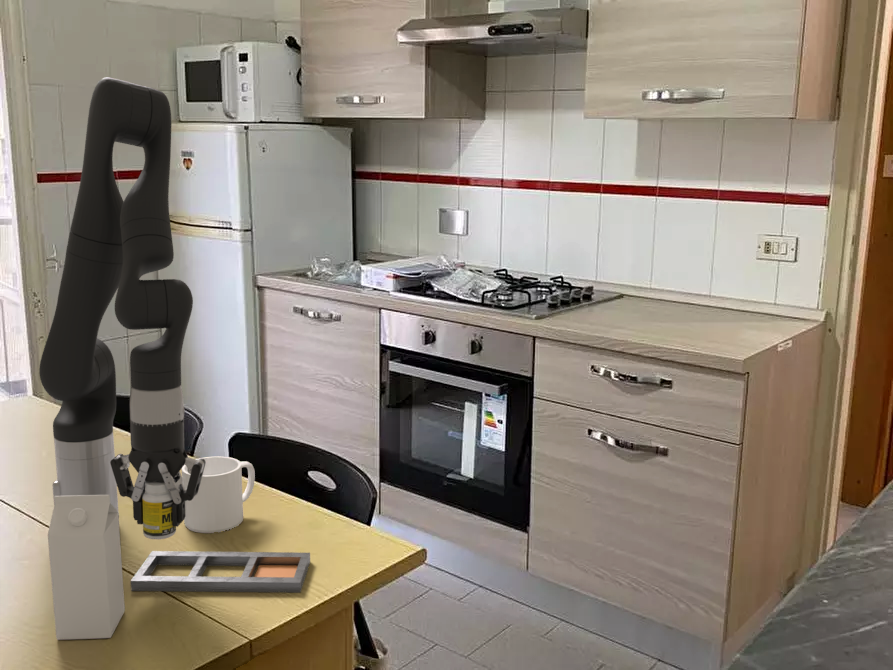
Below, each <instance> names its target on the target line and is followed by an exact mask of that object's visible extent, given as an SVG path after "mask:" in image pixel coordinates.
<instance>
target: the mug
mask: <svg viewBox="0 0 893 670" xmlns="http://www.w3.org/2000/svg"><path fill="white" fill-rule="evenodd" d="M195 459H196V460H199V459H204V460H205V462H206V464H205V467H204V471H203V475H202V479H201V483H200V486H199V490H198V493H197V494H196V495H195V496H194V498H193V499H192V500H191V501H188V500H187V501H185V519H184V520H183V521H184V522H183V523H184V525H185V526H184V527H186V528H187V529H188V530H189V531H192V532H195V533H200V534H215V533H214V532H218V533H222V532H221V531H224V532H226V531H225V530H227V531H230V530H233V529H235V528H237V527H239V524H241V523H242V522H243V521H244V505H243V504H244V502H246V501H247V500H248V499H249V498H250V496H251V494H253V489H254V486H255V481H256V477H255V476H256V475H255V474H256V473H255V468H254V466H253V464H252V463H250V462H249V461H247V460H246V461H240V460H238V459H237V458H233V457H230V456H229V457H228V456H220V455H219V456H207V457H200V458H195ZM242 468H246V469H247V475H248V477H247V484H246V487H245V490H244V492H243V475H242V474H243V473H242ZM187 469H188V468H187V466H186V465H184V466H183V467H182V469H181V476H182V479H183V486H184V488H185V490H187V486H188V483H189V479H190V475H191V474H189V473H188V471H187ZM236 526H237V527H236ZM234 527H235V528H234ZM232 528H233V529H232ZM229 529H230V530H229Z"/></svg>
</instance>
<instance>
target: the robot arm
mask: <svg viewBox="0 0 893 670" xmlns="http://www.w3.org/2000/svg"><path fill="white" fill-rule="evenodd" d="M86 123H87V125H86V134H85V144H84V152H83V161H82V169H81V176H80V181H79V187H78V192H77V193H78V194H77V196H76V202H75V207H74V210H73V216H72V219H71V224H70V228H69V235H68V237H67V238H68V239H67V245H66V249H65V257H64V264H63V269H62V274H61V279H60V283H59V284H60V285H59V291H58V295H57V302H56V308H55V311H54V315H53V319H52V321H51V322H52V323H51V326H50V327H49V328H50V329H49V332H48V336H47V339H46V342H45V345H44V348H43V351H42V354H41V357H40V361H39V369H38V371H39V373H38V374H39V379H40V382H41V385H42V388H43V389H44V391H45V392H46V393H47V395H49V396H50V397H52V399H55V400H57V401H61V402H62V403H61V406H60V409H59V411H58V413H57V414H56V416H55V418H54V419H53V422H52V434H53V441H54V443H53V444H54V454H55V455H54V457H55V468H56V479H55V481H54V482H52V496H53V497H52V498H53V499H54V496H70V495H110V503H111V504H112V505H113V507H114V508H115V509H116V510H117V512H118V517H119V518H120V513H119V500H118V499H119V498H118V493H119V495H120V497H123V498H125V497H127V498H129V499H131V500H132V512H133V513H132V516H133V517H132V518H133V519H134V521H136V524H137V525H143V500H142V498H143V495H144V493H145V481H146V482H154V481H158V482H161V483H165V485H166V487H167V490H168V491H170V493H171V496H172V499H173V501H174V502H173V504H172V525H173V526H175V527H176V528H178V527H179V526H180V525H181V524H182V523H183V521H184V519H185V501H187V500H188V501H191V500H192V499H193V498H194V496H195V495H196V494H197V493H198V490H199V486H200V483H201V479H202V475H203V471H204V467H205V464H206V462H205V460H204V459H199V458H198V459H199V460H196V459H197V458H192V457H189V456H188V454H187V452H186V449H185V405H184V403H185V402H184V394H183V388H182V353H183V352H182V351H183V345H184V341H185V336H186V332H187V329H188V325H189V322H190V320H191V319H190V318H191V315H192V312H193V306H194V305H193V304H194V297H193V294H192V290H191V289H190V287H189V286H188V284H187V283H186V282H184V281H183V280H181V279H176V278H169V279H168V278H166V279H140V278H141V277H142V276H145V275H146V274H149V273H154V272H157V271H160V270H164V269H165V268H168V267H170V265H171V264H172V263H173V261H174V258H175V257H174V254H175V253H174V252H175V251H174V243H173V236H172V226H171V219H170V218H171V217H170V207H169V206H170V203H169V188H170V187H169V186H170V172H171V157H172V156H171V150H172V111H171V104H170V101H169V99H168V97H167V95H166V94H165V93H164V92H163V91H161V90H159V89H156V88H153V87H149V86H145V85H142V84H138V83H134V82H131V81H127V80H123V79H119V78H112V77H103V78H101V79H100V80H98V81H97V83H96V85H95V87H94V89H93V91H92V95H91V99H90V104H89V108H88V117H87V122H86ZM115 143H120V144H125V145H130V146H134V147H139V148H142V149H143V152H144V163H143V168H142V170H141V172H140V174H139V176H138V178H137V180H136V181H135V182H134V184H133V185H132V187H131V188H130V190H129V191H128V193H127V195H126V196H125V198H124V199H123V197H122V195H121V192H120V190H119V189H120V188H119V187H118V185H117V181H116V178H115V173H114V166H113V152H114V145H115ZM115 294H116V295H115ZM114 297H115V300H114V315H115V317H116V320H117V321H118V322H119V323H120V325H121V327H124V328H125V329H127V330H131V331H132V330H133V331H135V330H136V331H137V330H139V331H140V330H156V329H157V330H158V329H160V330H161V329H165V330H164V333H163V334H162V335H161V336H160V337H159V338H158V339H155V340H153V341H150V342H146V343H141V344H139V345H137V346H134V347H133V348H132V349H131V351H130V356H129V368H130V372H129V373H130V392H129V393H130V395H129V423H130V424H129V425H130V427H129V429H130V446H131V448H130V452H129V454H122V453H118V454H117V455H116V453H115V441H114V440H115V439H114V419H115V415H116V411H117V375H116V374H117V373H116V364H115V359H114V356H113V354H112V351H111V349H110V348H109V346H108V345H107V344H106V343H105V342H104V341H103V340H101V339H99V338H98V333H99V331H100V330H99V329H100V326H101V323H102V320H103V318H104V315H105V313H106V311H107V309H108V307H109V306H110V303H111V302H112V300H113V298H114ZM130 464H131V465H130ZM184 465H186V466H187V468H188V469H187V471H188V473H189V474H191V475H190V479H189V483H188V486H187V490H185V488H184V486H183V479H182V472H181V471H182V467H183V466H184ZM131 466H133V468H134V470H136V472H137V473H138V474H137V476H136V479H135V483H133V480H132V476H131V473H130V471H129V467H131ZM54 504H55V502H54V501H53V505H54Z"/></svg>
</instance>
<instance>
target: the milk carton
mask: <svg viewBox="0 0 893 670" xmlns="http://www.w3.org/2000/svg"><path fill="white" fill-rule="evenodd" d="M54 502H55V504H54ZM52 509H53V510H52V515H51V518H50V522H49V527H48V530H47V543H48V546H47V547H48V554H49V555H48V556H49V566H50V567H49V568H50V579H51V591H52V593H51V594H52V600H53V601H52V602H53V603H52V604H53V614H54V615H53V616H54V625H55V626H54V627H55V636H56V637H55V638H56V640H58V641H59V640H60V641H61V640H88V639H90V640H91V639H111V638H112V636H113V635H114V632H115V630H116V629H117V626H118V625H119V623H120V622H121V619H122V617H123V615H124V613H125V609H126V608H125V595H124V593H125V592H124V578H123V564H122V550H121V546H122V545H121V535H120V516H119V517H118V512H119V511H118V512H117V510H116V509H115V508H114V507H113V505H112V504H111V503H110V495H70V496H54V498H53V508H52Z"/></svg>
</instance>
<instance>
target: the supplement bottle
mask: <svg viewBox="0 0 893 670" xmlns="http://www.w3.org/2000/svg"><path fill="white" fill-rule="evenodd" d="M142 500H143V524H142V526H143V527H142V528H143V529H142V531H143V533H142V534H143V536H144V537H145V538H147V539H150V540H165V539H169V538H171V537H172V536H174V535H175V534H176V532H177V527H175V526H173V525H172V504H173V502H174V501H173V499H172V496H171V493H170V491H168V490H167V487H166V485H165V483H161V482H158V481H154V482H146V481H145V493H144V495H143V498H142Z"/></svg>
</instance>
